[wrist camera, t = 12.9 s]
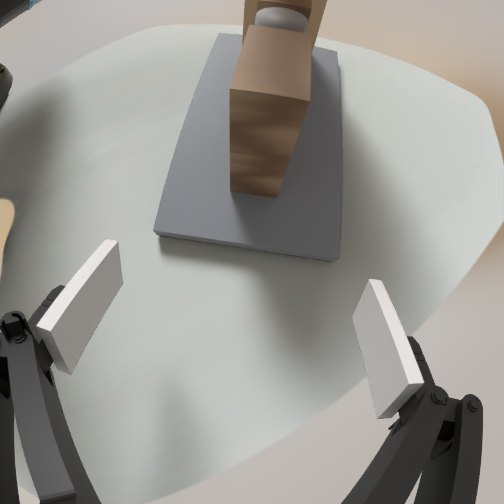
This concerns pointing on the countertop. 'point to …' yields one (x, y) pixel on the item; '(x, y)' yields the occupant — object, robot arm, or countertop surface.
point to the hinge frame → (296, 177)
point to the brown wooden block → (268, 100)
